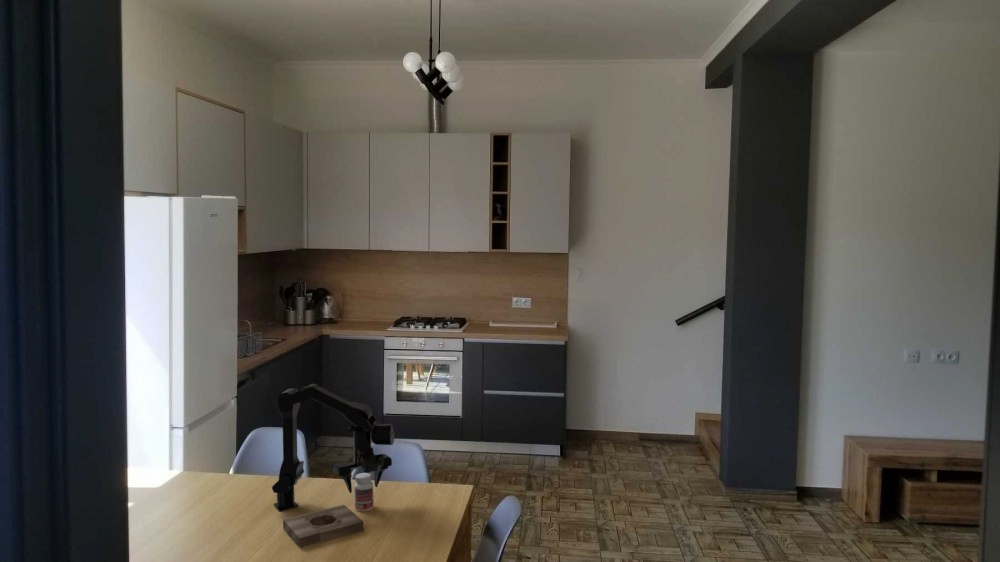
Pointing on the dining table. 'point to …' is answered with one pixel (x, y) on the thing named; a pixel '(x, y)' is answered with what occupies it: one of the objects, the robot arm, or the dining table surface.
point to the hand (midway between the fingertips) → (363, 489)
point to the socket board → (309, 531)
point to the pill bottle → (363, 492)
